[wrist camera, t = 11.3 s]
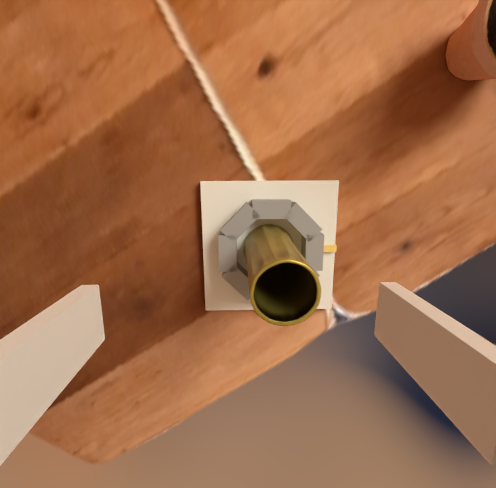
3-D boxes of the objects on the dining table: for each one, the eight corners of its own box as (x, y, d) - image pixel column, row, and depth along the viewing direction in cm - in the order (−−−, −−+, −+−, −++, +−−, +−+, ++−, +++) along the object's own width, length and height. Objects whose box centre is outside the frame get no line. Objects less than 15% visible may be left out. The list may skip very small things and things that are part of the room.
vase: (232, 249, 34) (226, 294, 20) (268, 213, 34) (287, 234, 20) (268, 282, 35) (284, 347, 21) (304, 248, 35) (345, 293, 21)
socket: (206, 307, 37) (202, 319, 34) (201, 181, 34) (196, 181, 30) (328, 305, 37) (337, 318, 34) (336, 180, 34) (346, 180, 30)
